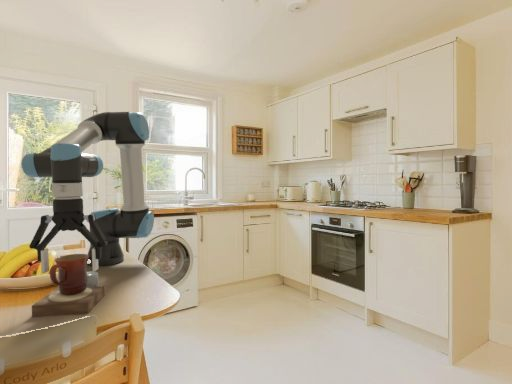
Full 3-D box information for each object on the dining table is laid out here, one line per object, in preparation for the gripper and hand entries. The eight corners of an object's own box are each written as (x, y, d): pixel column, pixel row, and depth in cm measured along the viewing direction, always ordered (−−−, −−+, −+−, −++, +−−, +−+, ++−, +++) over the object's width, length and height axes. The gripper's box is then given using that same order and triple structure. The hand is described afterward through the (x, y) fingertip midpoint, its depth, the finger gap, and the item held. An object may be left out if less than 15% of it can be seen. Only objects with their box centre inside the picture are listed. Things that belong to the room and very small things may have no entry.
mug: (71, 286, 101) (70, 253, 101) (96, 287, 99) (95, 254, 99) (38, 300, 89) (37, 263, 89) (66, 302, 88) (65, 264, 87)
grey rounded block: (80, 283, 115) (80, 271, 115) (101, 282, 116) (101, 271, 116) (72, 289, 108) (71, 277, 108) (94, 288, 109) (94, 276, 109)
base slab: (56, 297, 101) (56, 286, 100) (104, 295, 102) (104, 284, 102) (32, 316, 87) (31, 304, 87) (87, 313, 89) (87, 301, 88)
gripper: (12, 199, 88) (16, 277, 89) (109, 198, 91) (112, 272, 92) (27, 197, 95) (31, 269, 96) (117, 196, 99) (119, 265, 100)
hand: (70, 271), depth 94 cm, fingers open, 13 cm apart
